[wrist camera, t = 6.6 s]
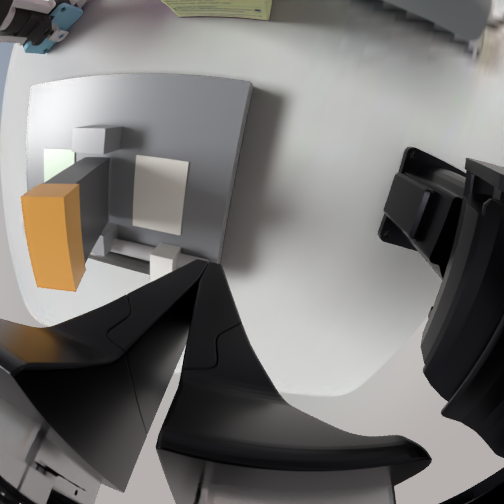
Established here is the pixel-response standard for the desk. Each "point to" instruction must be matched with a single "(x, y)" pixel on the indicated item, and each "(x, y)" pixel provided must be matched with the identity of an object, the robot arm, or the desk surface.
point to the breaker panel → (147, 159)
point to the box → (221, 8)
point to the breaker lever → (66, 222)
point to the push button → (37, 22)
